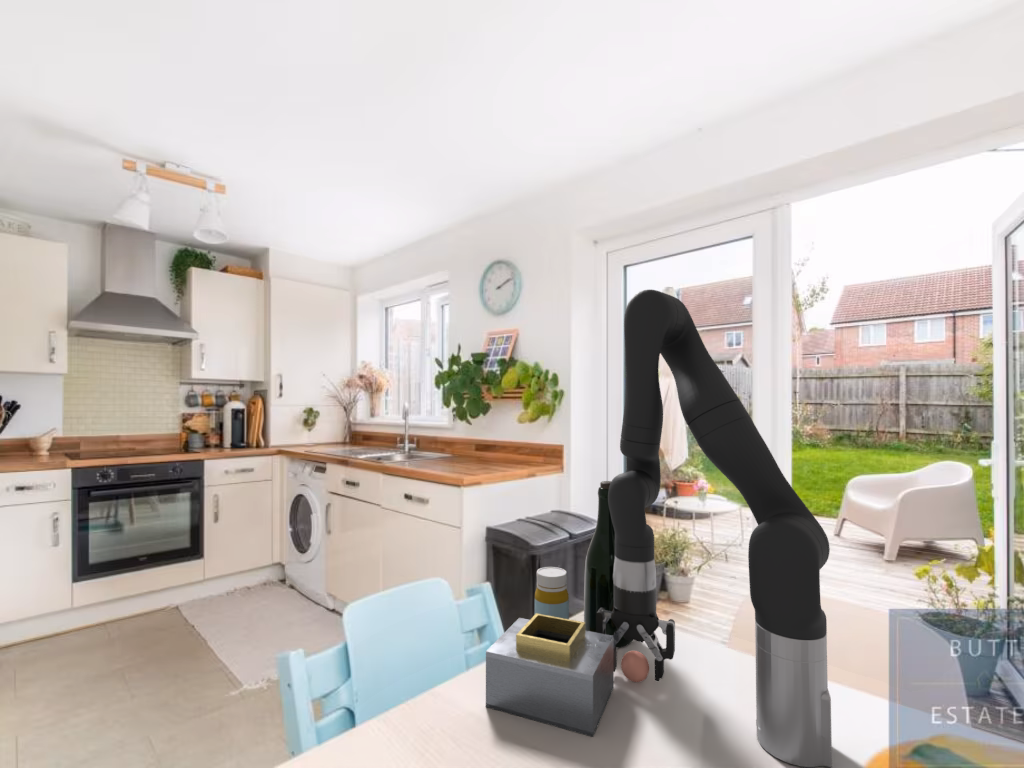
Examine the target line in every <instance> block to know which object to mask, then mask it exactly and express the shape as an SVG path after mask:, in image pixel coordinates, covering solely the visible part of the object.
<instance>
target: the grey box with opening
mask: <svg viewBox="0 0 1024 768" xmlns="http://www.w3.org/2000/svg"><path fill="white" fill-rule="evenodd" d="M614 673H615V672H614V647H613V636H612V635H606V634H601V633H596V632H591V631H586V630H585V622H584V621H580V620H576V619H575V620H574V619H570V618H569V619H564V618H559V617H554V616H548V615H543V614H537V613H536V614H535V613H534V615H533V616H532V617H531V618H530V619H527V618H524V617H518V619H516V620H515V621H514V622H513V624H512V625H511V626H509V627H508V629H506V631H504V632H503V633H502V634H501V635H500V636H499V638H497V640H495V641H494V643H492V645H491V646H489V647H488V648H487V650H485V708H487V709H492V710H495V711H499V712H502V713H505V714H509V715H513V716H516V717H520V718H523V719H528V720H530V721H533V722H534V721H535V722H537V723H542V724H546V725H549V726H553V727H556V728H561V729H564V730H567V731H570V732H572V733H573V732H574V733H578V734H582V735H585V736H588V737H593V738H594V736H595V734H596V731H597V728H598V726H599V724H600V721H601V719H602V716H603V714H604V711H605V709H606V707H607V704H608V703H609V700H610V698H611V696H612V693H613V691H614V687H615V686H614V685H615V683H614V682H615V681H614V679H615V678H614Z"/></svg>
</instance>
